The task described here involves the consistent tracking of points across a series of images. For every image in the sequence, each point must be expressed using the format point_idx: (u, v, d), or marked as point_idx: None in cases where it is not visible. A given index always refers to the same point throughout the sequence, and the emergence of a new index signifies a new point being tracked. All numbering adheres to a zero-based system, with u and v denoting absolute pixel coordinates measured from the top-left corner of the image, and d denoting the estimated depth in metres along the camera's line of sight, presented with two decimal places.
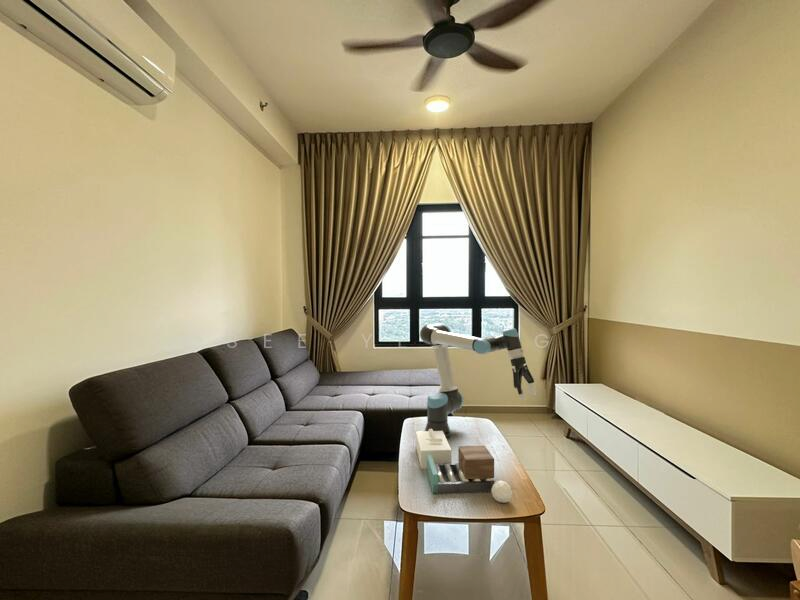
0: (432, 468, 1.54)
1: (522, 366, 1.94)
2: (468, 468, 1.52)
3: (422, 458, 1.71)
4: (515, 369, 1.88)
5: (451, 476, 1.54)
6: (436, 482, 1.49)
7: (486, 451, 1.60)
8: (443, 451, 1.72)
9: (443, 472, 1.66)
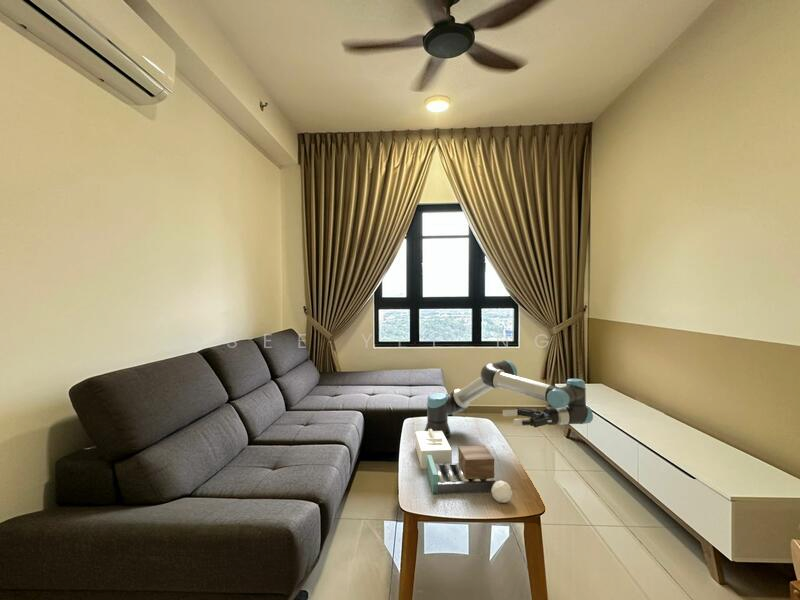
0: (432, 468, 1.54)
1: None
2: (468, 468, 1.52)
3: (422, 458, 1.71)
4: (550, 422, 1.55)
5: (451, 476, 1.54)
6: (436, 482, 1.49)
7: (486, 451, 1.60)
8: (443, 451, 1.72)
9: (443, 472, 1.66)
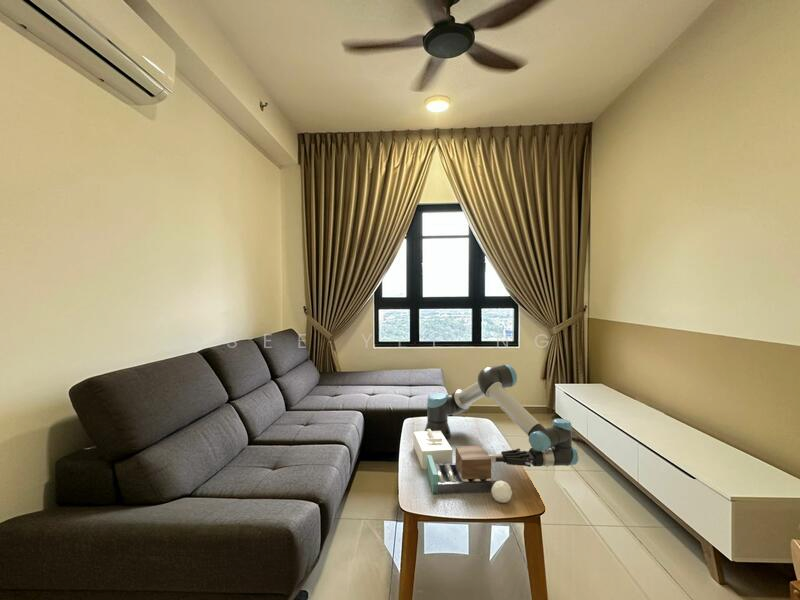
0: (432, 468, 1.54)
1: None
2: (465, 468, 1.52)
3: (423, 459, 1.71)
4: (528, 464, 1.53)
5: (451, 476, 1.54)
6: (436, 482, 1.49)
7: (483, 451, 1.60)
8: (444, 451, 1.72)
9: (443, 472, 1.66)
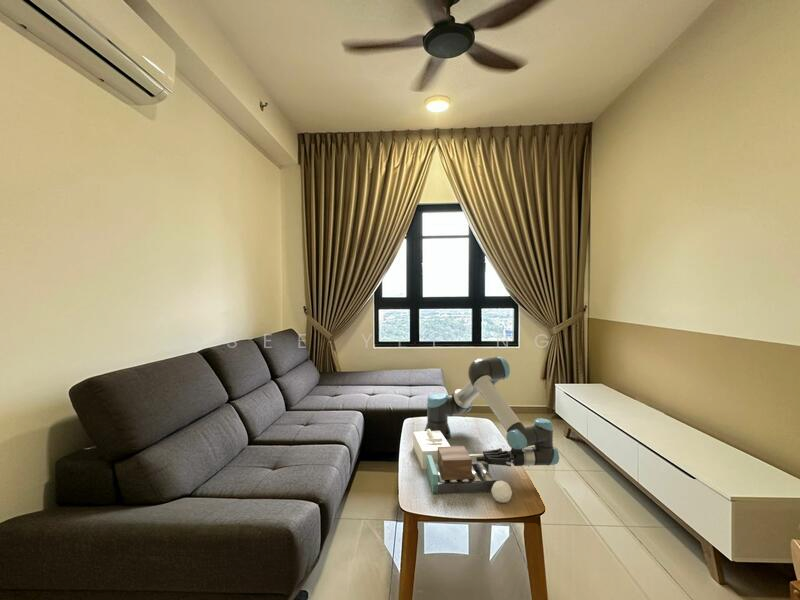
0: (432, 468, 1.54)
1: None
2: (445, 469, 1.51)
3: (424, 459, 1.71)
4: (508, 464, 1.53)
5: None
6: (436, 482, 1.49)
7: (464, 452, 1.59)
8: None
9: None
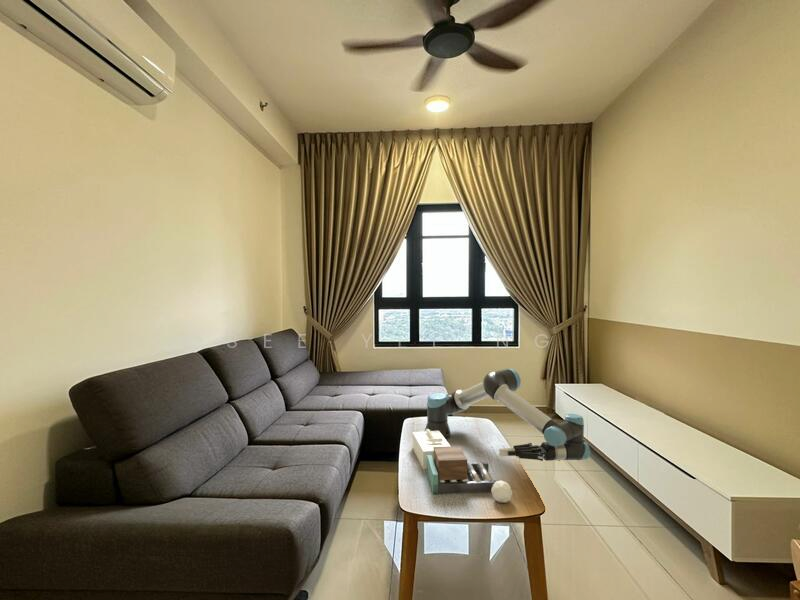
0: (432, 468, 1.54)
1: None
2: (441, 469, 1.51)
3: (424, 459, 1.70)
4: (540, 458, 1.54)
5: None
6: (436, 482, 1.49)
7: (460, 452, 1.59)
8: None
9: None
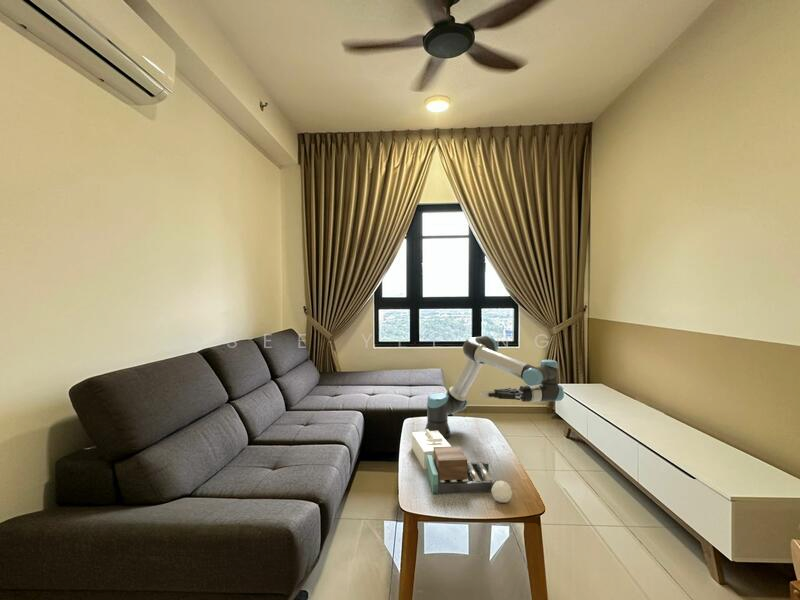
0: (432, 468, 1.54)
1: None
2: (441, 469, 1.51)
3: (425, 459, 1.70)
4: (518, 398, 1.68)
5: None
6: (436, 482, 1.49)
7: (460, 452, 1.59)
8: None
9: None
